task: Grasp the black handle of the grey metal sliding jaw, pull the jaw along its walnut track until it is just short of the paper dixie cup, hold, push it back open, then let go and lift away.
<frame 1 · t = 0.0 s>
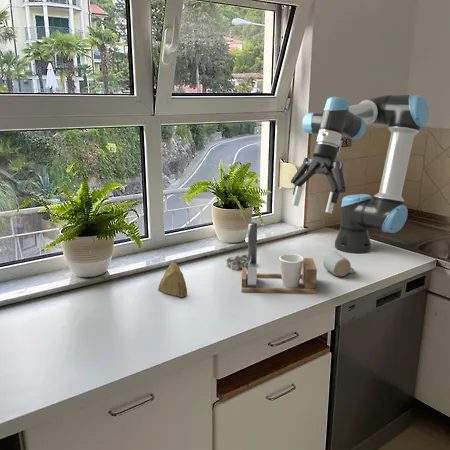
hand: (311, 209, 152), 28 cm above the worktop, tool tilted 20°, fingers open, 13 cm apart
egg carton: (240, 266, 180), on the worktop
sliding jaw: (252, 254, 159), point 11 cm above the worktop, slide at 0.0 cm
dixie cup: (290, 285, 162), resting in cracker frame
rock: (173, 293, 155), on the worktop
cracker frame: (284, 284, 162), on the worktop
ceramic mug: (339, 273, 172), on the worktop
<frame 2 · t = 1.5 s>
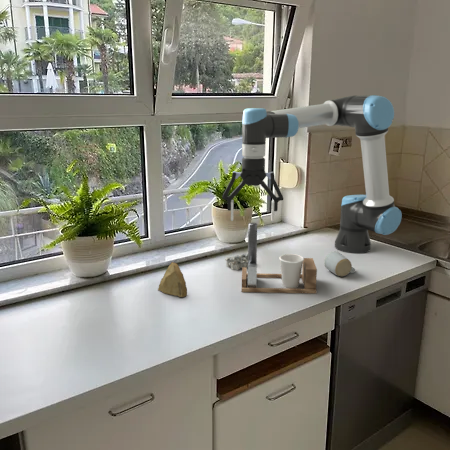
hand: (252, 220, 156), 23 cm above the worktop, tool pointing down, fingers open, 13 cm apart
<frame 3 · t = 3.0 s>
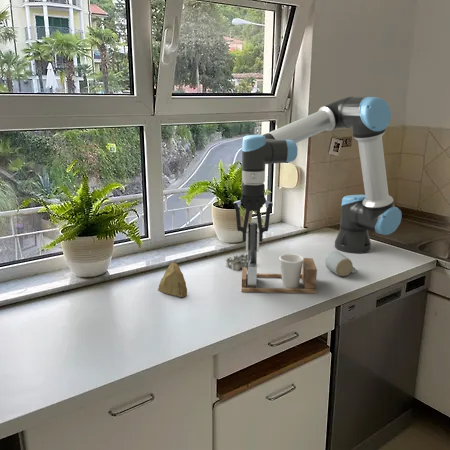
hand: (252, 250, 159), 13 cm above the worktop, tool pointing down, fingers closed on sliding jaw, 3 cm apart
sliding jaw: (252, 254, 159), point 11 cm above the worktop, slide at 0.0 cm, touching gripper
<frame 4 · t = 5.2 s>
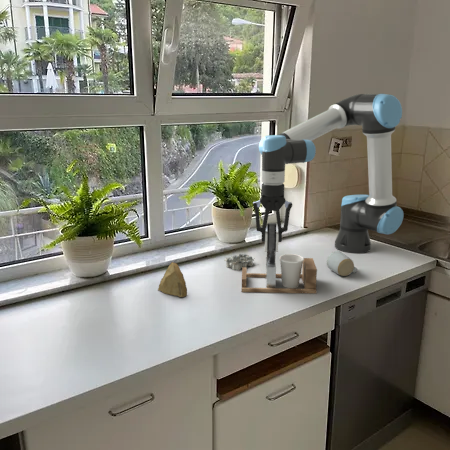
hand: (271, 250, 159), 13 cm above the worktop, tool pointing down, fingers closed on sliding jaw, 3 cm apart
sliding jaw: (271, 254, 159), point 11 cm above the worktop, slide at 6.5 cm, touching gripper
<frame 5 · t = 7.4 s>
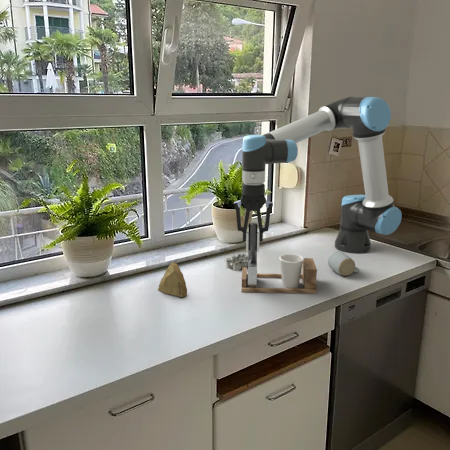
hand: (252, 250, 159), 13 cm above the worktop, tool pointing down, fingers closed on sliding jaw, 3 cm apart
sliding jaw: (252, 254, 159), point 11 cm above the worktop, slide at 0.1 cm, touching gripper
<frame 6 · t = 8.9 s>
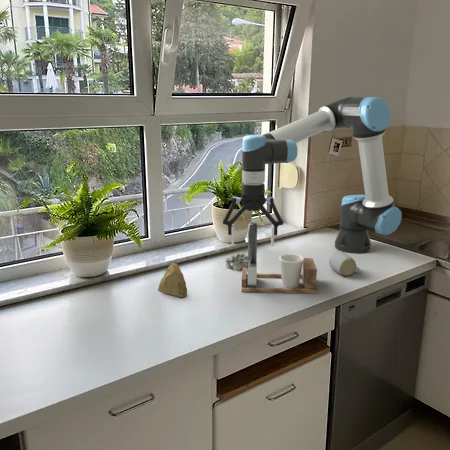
hand: (252, 244, 158), 15 cm above the worktop, tool pointing down, fingers open, 13 cm apart
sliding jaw: (252, 254, 159), point 11 cm above the worktop, slide at 0.0 cm
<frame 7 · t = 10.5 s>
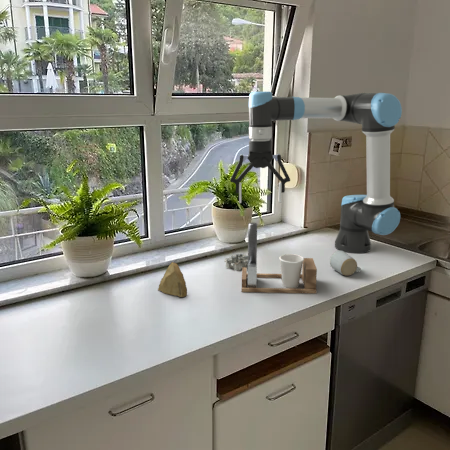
hand: (260, 202, 159), 28 cm above the worktop, tool pointing down, fingers open, 13 cm apart
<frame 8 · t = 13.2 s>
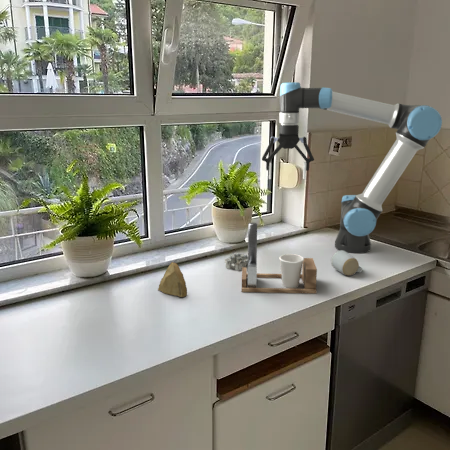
hand: (287, 178, 184), 32 cm above the worktop, tool pointing down, fingers open, 13 cm apart
at the end: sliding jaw slide at 0.0 cm; dixie cup moved 0.2 cm from its start; the gripper is holding nothing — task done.
